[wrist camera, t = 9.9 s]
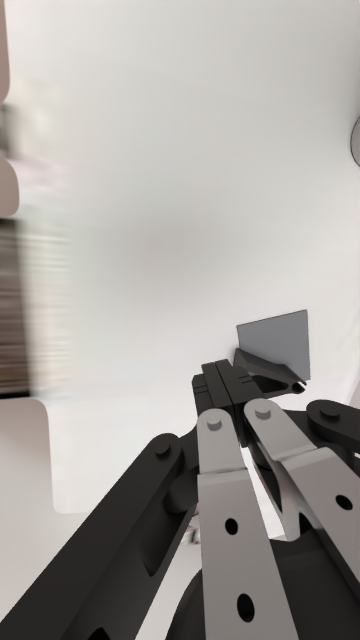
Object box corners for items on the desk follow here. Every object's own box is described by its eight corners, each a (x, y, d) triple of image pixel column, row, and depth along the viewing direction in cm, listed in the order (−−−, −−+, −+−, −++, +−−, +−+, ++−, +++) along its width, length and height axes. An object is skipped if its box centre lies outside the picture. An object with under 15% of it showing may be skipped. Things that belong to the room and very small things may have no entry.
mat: (305, 309, 39) (307, 310, 39) (309, 378, 43) (310, 379, 43) (236, 325, 39) (237, 326, 39) (247, 392, 44) (247, 393, 43)
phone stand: (247, 362, 34) (312, 365, 35) (236, 348, 40) (292, 351, 41) (239, 405, 37) (300, 407, 38) (229, 386, 43) (283, 388, 43)
